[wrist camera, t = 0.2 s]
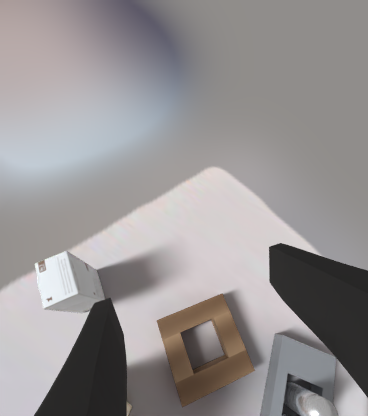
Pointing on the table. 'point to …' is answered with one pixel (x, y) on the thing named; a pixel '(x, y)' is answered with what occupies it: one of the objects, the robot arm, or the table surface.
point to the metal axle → (307, 402)
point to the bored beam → (296, 372)
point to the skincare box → (68, 284)
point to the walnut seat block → (214, 370)
